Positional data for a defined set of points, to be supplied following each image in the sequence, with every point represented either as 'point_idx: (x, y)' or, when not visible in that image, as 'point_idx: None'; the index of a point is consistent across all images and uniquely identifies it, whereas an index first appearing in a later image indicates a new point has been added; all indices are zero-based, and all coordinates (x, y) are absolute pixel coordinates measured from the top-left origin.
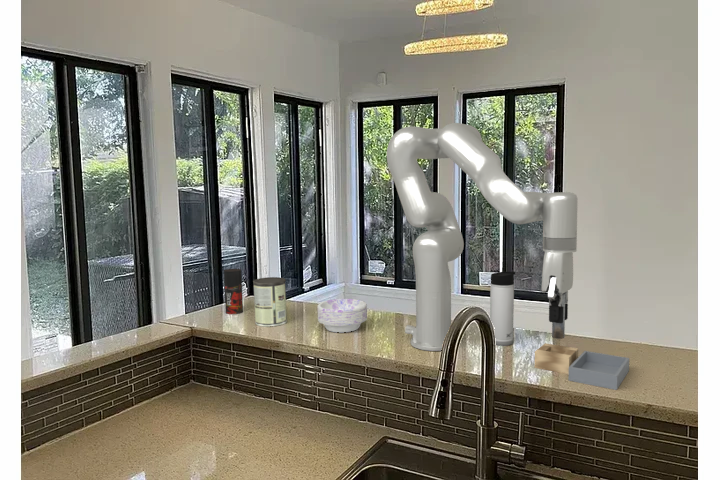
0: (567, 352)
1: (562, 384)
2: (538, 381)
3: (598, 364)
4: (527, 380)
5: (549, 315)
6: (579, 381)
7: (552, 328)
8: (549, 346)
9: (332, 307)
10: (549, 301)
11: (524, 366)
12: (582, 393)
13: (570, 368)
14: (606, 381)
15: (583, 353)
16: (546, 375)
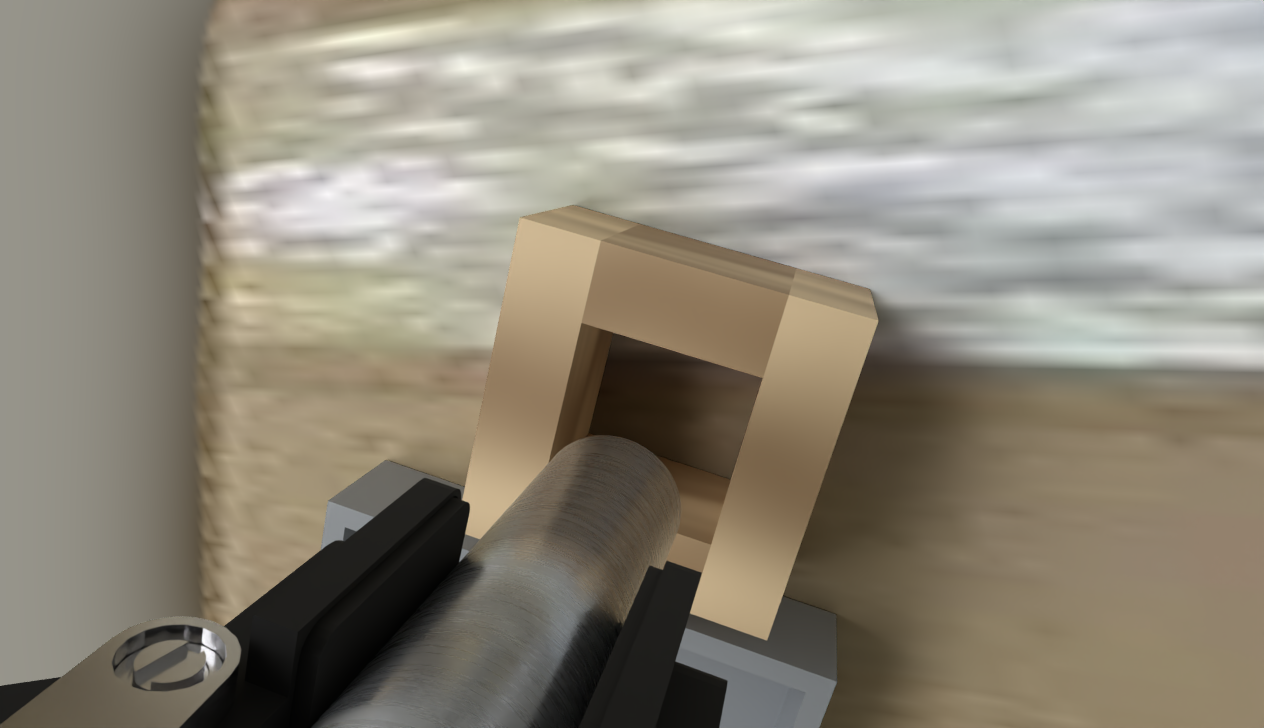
0: None
1: (300, 415)
2: (285, 251)
3: (761, 714)
4: (271, 169)
5: (377, 522)
6: None
7: (551, 479)
8: (755, 366)
9: None
10: (67, 681)
11: (579, 113)
12: (207, 524)
13: (330, 508)
14: None
15: (742, 658)
16: (429, 307)
